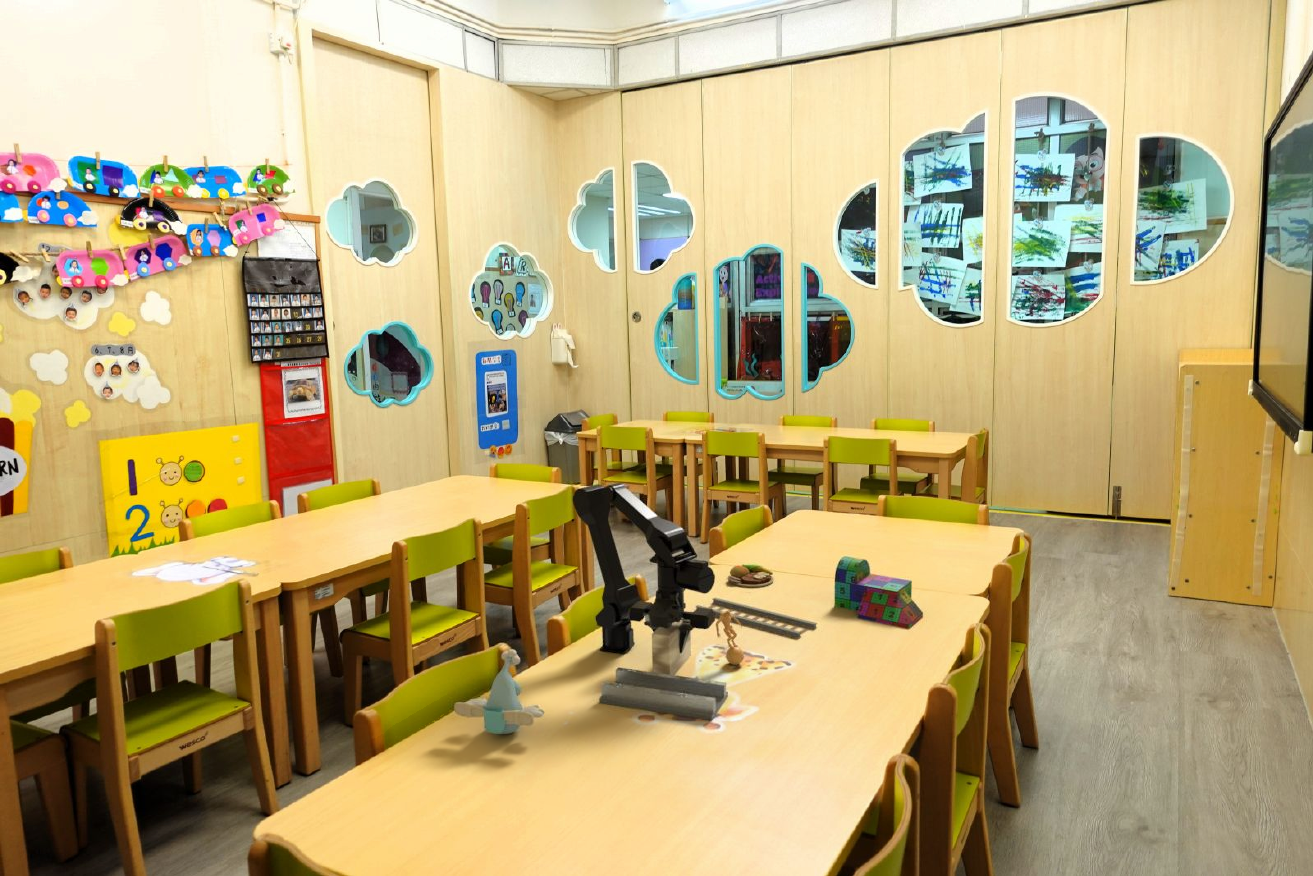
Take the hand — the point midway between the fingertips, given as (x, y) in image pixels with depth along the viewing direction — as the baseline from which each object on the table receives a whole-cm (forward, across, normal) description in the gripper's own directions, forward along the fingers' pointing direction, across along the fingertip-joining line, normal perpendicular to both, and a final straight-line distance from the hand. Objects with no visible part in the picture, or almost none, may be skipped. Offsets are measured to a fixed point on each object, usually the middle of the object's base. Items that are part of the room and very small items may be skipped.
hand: (672, 651), depth 192 cm
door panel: (+4, 0, 0) cm, 4 cm away
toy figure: (+4, -20, -38) cm, 43 cm away
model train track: (+4, +10, +34) cm, 36 cm away
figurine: (+4, +12, +6) cm, 14 cm away
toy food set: (+4, +1, +64) cm, 64 cm away
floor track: (+4, +4, -16) cm, 17 cm away
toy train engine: (+4, +39, +49) cm, 63 cm away
